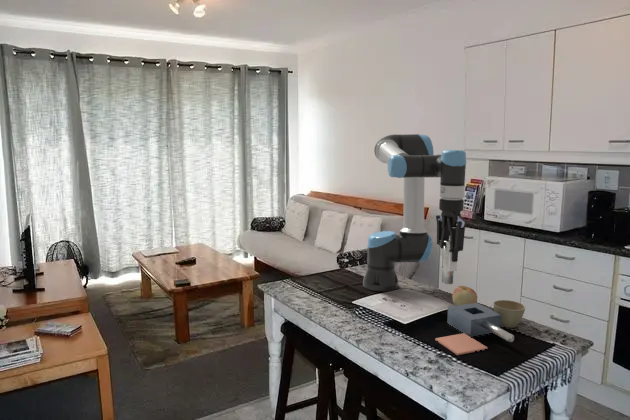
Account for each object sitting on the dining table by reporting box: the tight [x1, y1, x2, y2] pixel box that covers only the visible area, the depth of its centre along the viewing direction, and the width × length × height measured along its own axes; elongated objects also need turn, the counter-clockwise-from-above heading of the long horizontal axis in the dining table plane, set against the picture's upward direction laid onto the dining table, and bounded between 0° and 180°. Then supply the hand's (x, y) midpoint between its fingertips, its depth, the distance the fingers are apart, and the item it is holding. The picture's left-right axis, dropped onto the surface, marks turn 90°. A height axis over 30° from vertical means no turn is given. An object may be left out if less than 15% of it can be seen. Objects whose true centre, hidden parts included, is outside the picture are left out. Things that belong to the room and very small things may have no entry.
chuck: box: [446, 302, 515, 343], centre depth 150 cm, size 23×12×6 cm, turn 21°
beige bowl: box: [493, 299, 526, 329], centre depth 158 cm, size 10×10×7 cm
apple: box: [452, 285, 478, 306], centre depth 173 cm, size 9×9×8 cm
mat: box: [434, 332, 488, 356], centre depth 143 cm, size 11×11×1 cm
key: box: [439, 239, 455, 285], centre depth 151 cm, size 4×7×14 cm, turn 109°
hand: (448, 268), depth 152 cm, fingers closed on key, 4 cm apart
